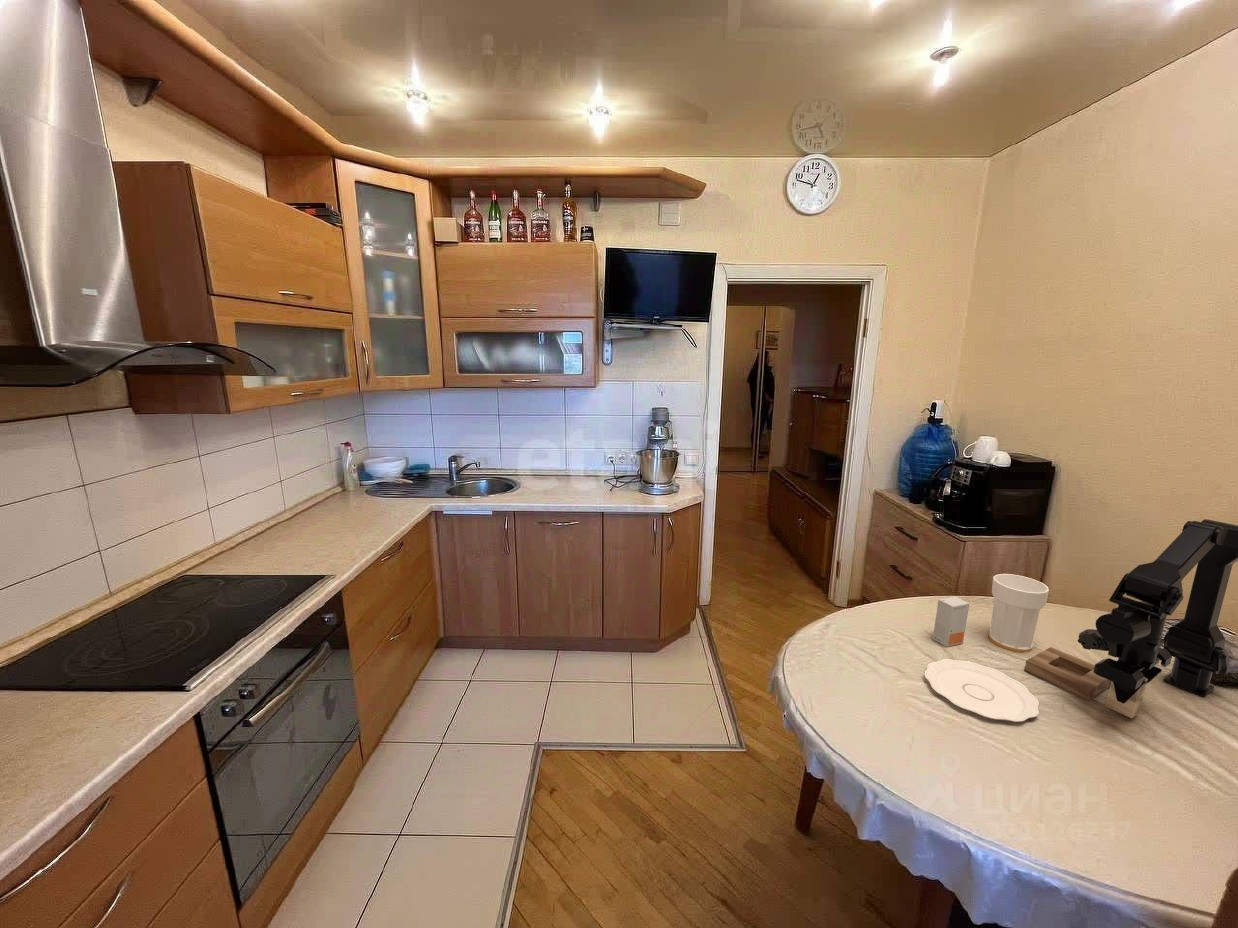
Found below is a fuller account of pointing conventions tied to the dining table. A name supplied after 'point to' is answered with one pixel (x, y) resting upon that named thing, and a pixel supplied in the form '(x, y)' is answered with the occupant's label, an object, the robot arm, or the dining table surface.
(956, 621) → the skincare box
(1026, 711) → the plate
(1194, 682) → the robot arm
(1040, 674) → the socket block
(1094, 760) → the dining table surface
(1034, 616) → the cup
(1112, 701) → the maple peg
